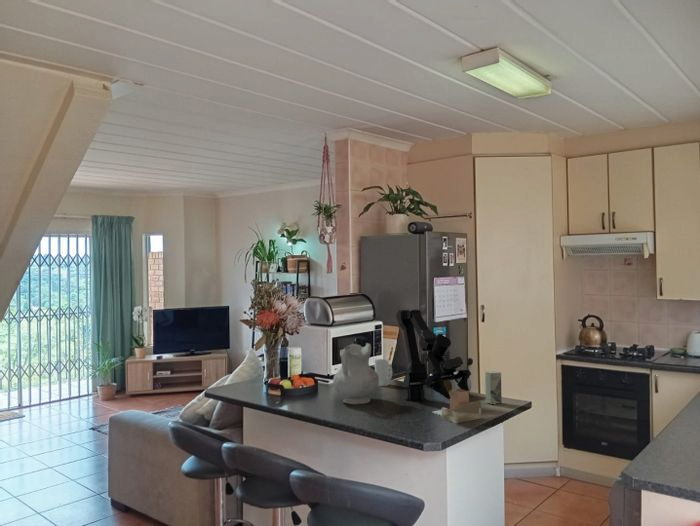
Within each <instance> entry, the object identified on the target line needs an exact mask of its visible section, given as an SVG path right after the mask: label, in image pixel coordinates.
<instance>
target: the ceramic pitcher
mask: <svg viewBox="0 0 700 526" xmlns="http://www.w3.org/2000/svg"><path fill="white" fill-rule="evenodd" d="M371 354H372V345H371V343H370V342H369V343H368V342H365V346H361V344H356V343H351V344H349V345H346V346H345V347H344V348H343V349H340V350H339V356H340V359H341V367H340V369H339V370H337V372H336V373H335V374H334V375H333V378H332V379H333V380H332V382H333V387H334V389H335V390H336V392H337V394H338V395H340V396H342V397H343V398H344V399H343V402H344V403H345V404H347V403H348V405H349V404H350V405H361V404H363V405H364V404H368V403H369V402H371V400H372V399H371V398H370V396H372V395H373V394H375V393H376V391H378V390H377V389H378V387H379V386H378V385H379V377H378V374H377V372H376V371H375V369H373V368H372V367H371V366H370V363H369V362H370V357H371Z"/></svg>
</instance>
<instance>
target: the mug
mask: <svg viewBox="0 0 700 526" xmlns="http://www.w3.org/2000/svg"><path fill="white" fill-rule="evenodd" d="M374 371H376V372H377V374H378V377H379V385H378V387H387V386H389V385H390V383H389V381H391V380H392V377H393V368H392V363H389V359H386V358H378V359H374ZM389 371H390V373H389Z"/></svg>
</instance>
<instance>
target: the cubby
mask: <svg viewBox="0 0 700 526" xmlns="http://www.w3.org/2000/svg"><path fill="white" fill-rule="evenodd" d="M441 410H442V416H441V419H442V420H444V419H446V420H445V421H447V420H449V421H448V422H450V421H452V422H451V423H453V422H454V424H460V423H459V422H461V423H465V421H466V422H469V421H475V420H480V419H482V402H481V401H479V400H478V401H474V402H469V403H468V404H462V405H457V406H454V410H450V408H447V407H441Z"/></svg>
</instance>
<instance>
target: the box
mask: <svg viewBox="0 0 700 526" xmlns="http://www.w3.org/2000/svg"><path fill="white" fill-rule="evenodd" d="M484 375H485V379H484V380H485V382H484V383H485V385H484V386H485V403H486V402H488V403H491V404H494V403H502V402H503V400H502V399H503V398H502V372H501V371H497V370H488V371H485V372H484ZM488 403H487V404H488ZM494 405H495V404H494Z"/></svg>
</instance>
